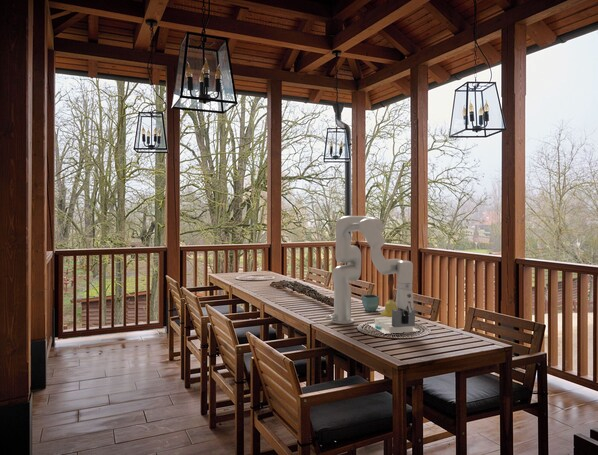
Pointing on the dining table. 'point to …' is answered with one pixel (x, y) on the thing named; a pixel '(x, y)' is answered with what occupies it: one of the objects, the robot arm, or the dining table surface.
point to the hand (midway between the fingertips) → (403, 322)
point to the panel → (398, 318)
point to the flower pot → (370, 302)
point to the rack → (390, 326)
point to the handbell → (390, 299)
